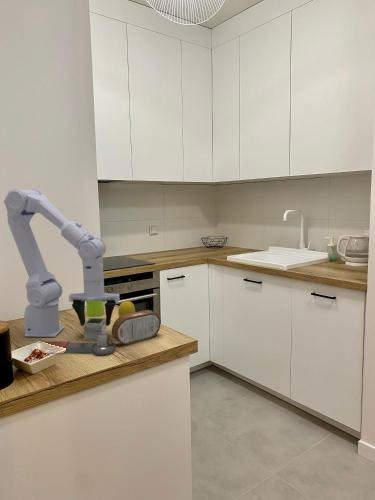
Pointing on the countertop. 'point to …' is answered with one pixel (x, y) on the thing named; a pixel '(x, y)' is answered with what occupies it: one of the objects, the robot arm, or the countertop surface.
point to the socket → (94, 328)
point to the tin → (136, 327)
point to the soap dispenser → (95, 308)
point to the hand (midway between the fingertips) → (95, 324)
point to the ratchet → (88, 346)
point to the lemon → (126, 308)
